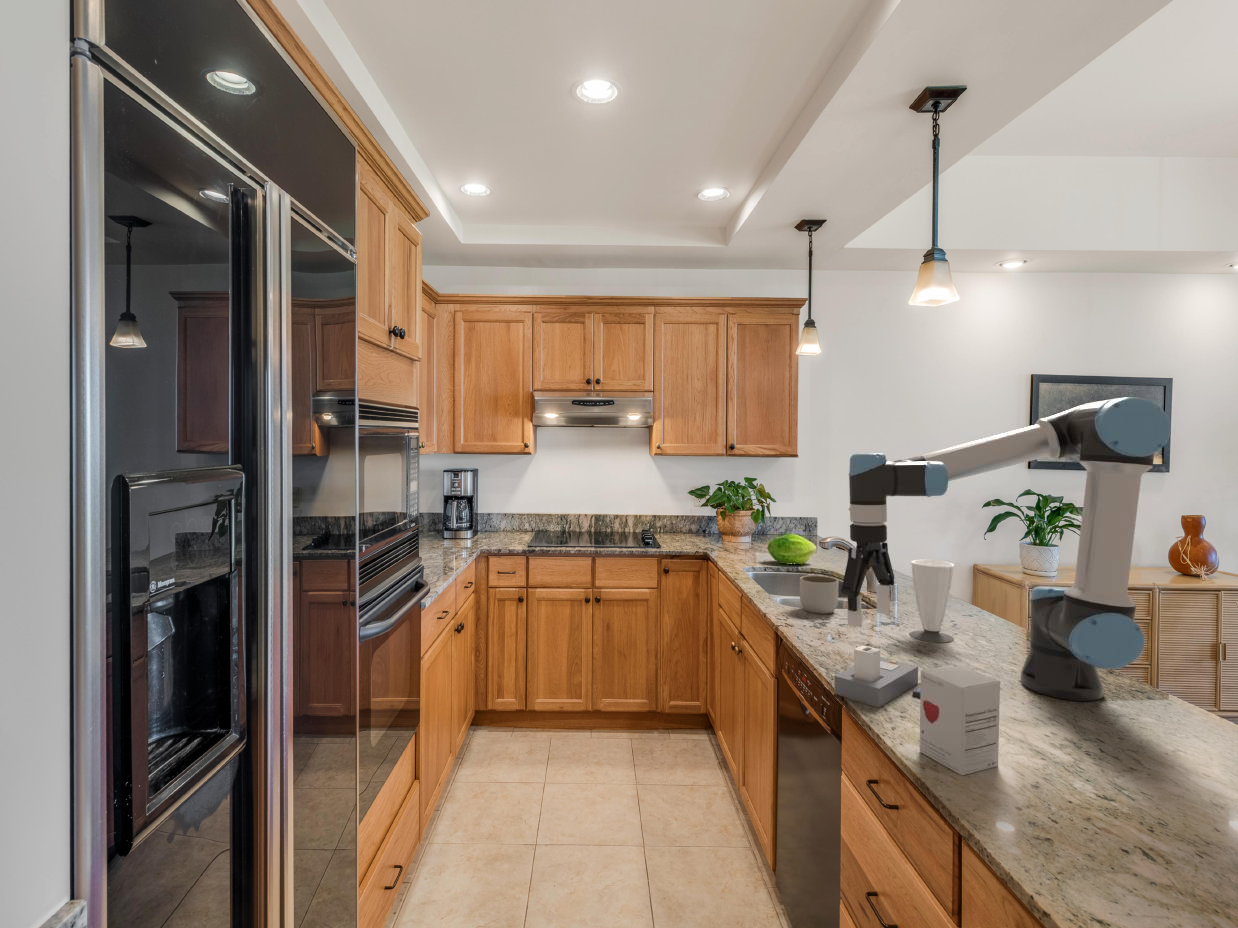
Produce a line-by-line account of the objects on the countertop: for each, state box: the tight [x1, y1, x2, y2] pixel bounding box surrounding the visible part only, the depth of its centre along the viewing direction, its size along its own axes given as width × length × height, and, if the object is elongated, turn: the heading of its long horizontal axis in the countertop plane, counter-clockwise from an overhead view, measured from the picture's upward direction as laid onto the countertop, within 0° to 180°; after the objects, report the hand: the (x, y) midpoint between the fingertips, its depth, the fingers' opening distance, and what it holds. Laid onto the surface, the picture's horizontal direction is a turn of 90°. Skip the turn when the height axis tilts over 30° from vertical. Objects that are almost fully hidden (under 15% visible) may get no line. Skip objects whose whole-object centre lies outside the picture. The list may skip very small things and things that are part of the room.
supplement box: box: [919, 663, 1001, 776], centre depth 106 cm, size 9×9×15 cm
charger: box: [853, 645, 881, 683], centre depth 135 cm, size 4×4×9 cm
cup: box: [909, 559, 955, 644], centre depth 177 cm, size 12×12×22 cm
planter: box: [799, 574, 839, 615], centre depth 206 cm, size 12×12×11 cm
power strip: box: [833, 656, 919, 708], centre depth 138 cm, size 10×20×4 cm, turn 132°
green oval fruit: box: [766, 533, 817, 565], centre depth 293 cm, size 15×23×16 cm
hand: (869, 619), depth 135 cm, fingers open, 13 cm apart
